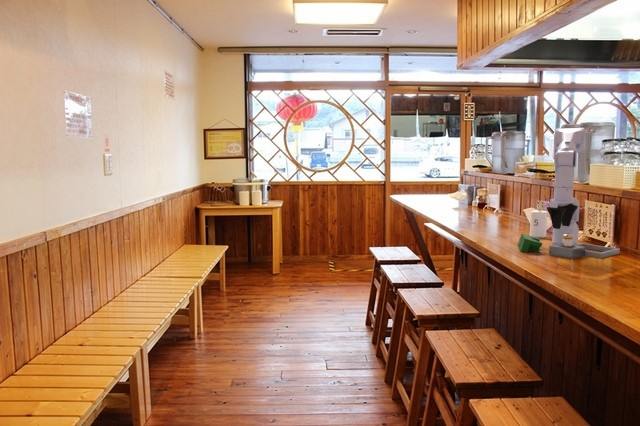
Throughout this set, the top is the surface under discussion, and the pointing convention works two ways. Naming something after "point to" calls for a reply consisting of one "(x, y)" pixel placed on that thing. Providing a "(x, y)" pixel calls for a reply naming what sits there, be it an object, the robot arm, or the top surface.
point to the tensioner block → (567, 251)
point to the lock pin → (567, 240)
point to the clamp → (529, 243)
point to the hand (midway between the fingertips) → (561, 227)
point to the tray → (607, 250)
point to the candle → (538, 222)
